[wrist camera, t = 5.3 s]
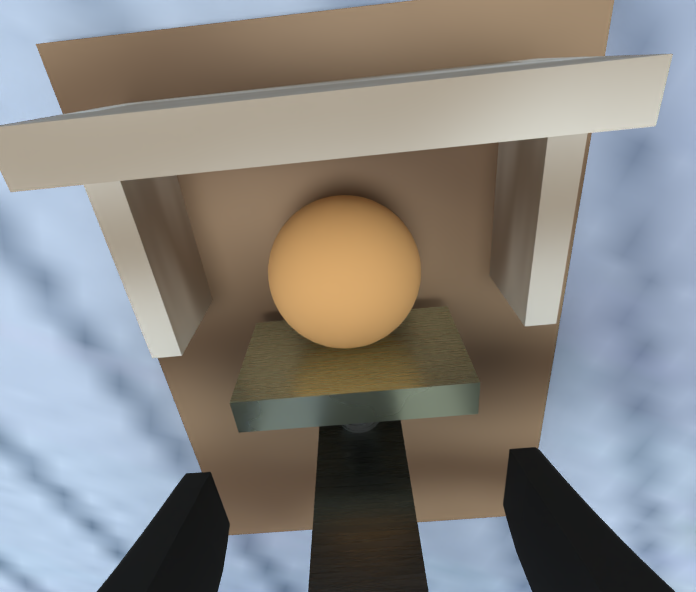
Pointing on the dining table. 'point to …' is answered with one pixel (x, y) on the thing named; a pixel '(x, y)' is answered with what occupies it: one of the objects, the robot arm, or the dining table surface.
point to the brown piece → (343, 179)
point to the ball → (344, 271)
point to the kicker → (359, 436)
